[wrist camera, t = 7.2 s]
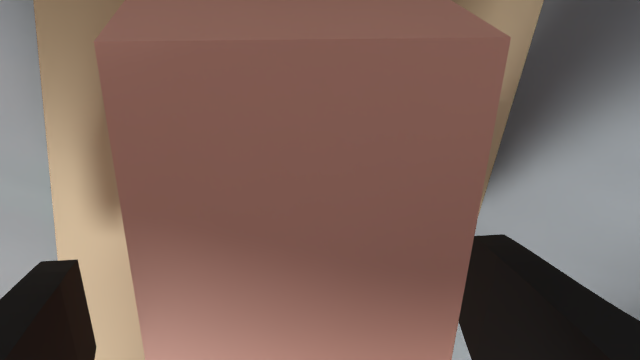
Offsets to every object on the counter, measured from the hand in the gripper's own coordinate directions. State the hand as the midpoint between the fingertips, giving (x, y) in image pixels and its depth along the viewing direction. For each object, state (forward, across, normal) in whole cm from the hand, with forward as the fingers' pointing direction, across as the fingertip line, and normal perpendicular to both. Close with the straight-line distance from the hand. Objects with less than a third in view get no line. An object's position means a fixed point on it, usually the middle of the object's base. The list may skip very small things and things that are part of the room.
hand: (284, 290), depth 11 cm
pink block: (+2, 0, 0) cm, 2 cm away
